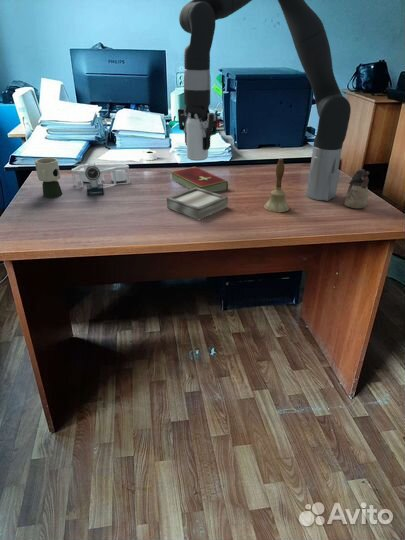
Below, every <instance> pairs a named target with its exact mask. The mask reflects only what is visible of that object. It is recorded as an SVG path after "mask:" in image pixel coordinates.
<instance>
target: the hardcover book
mask: <svg viewBox="0 0 405 540" xmlns="http://www.w3.org/2000/svg"><path fill="white" fill-rule="evenodd" d="M169 173H170V174H171V180H172V181H174V182H177V183H178V184H180V185H182V186H183V187H185V188H187V189H188V190H190V189H193V188H195V187H197V188H200V189H204V190H207V191H210V192H213V193H216V192H222V191H226V190H227V191H228V189H229V182H228V180H226V179H223V178H222V177H219V176H217V175H214V174H213V173H210V172H208V171H207V170H203V169H201V168H199V167H197V166H192V167H187V168H183V169H178V170H177V169H176V170H172V171H170V172H169Z"/></svg>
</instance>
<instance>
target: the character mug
mask: <svg viewBox="0 0 405 540" xmlns="http://www.w3.org/2000/svg"><path fill="white" fill-rule="evenodd" d="M34 164H35V170H36V173H37V179H38V181H40V182H42V195H43V197H44V198H46V199H56V198H59V197H61V196H62V194H63V191H62V187H61V185H60V183H59V181H58V180H60V179H61V173H60V172H61V171H60V167H59V161H58V159H57V158H56V157H42V158H38V159H35V160H34Z"/></svg>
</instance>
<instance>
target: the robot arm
mask: <svg viewBox="0 0 405 540" xmlns="http://www.w3.org/2000/svg"><path fill="white" fill-rule="evenodd" d="M252 1H253V0H191V1H189V2H187V3H185V4H184V5H183V7H182V8H181V9H180V12H179V15H178V21H179V26H180V27H181V29H182V30H183V31H184V32H185V33H187V34H189V35H190V38H189V39H190V42H189V44H188V45H187V46H185V48H184V53H183V55H184V56H183V57H184V60H183V61H184V62H183V63H184V72H183V73H184V74H183V104H184V106H185V107H184V108H179V109H177V117H178V126H179V127H178V128H179V130H180V131H183V133H184V143H185V146H186V147H187V128H186V123H187V120H188V117H189V118H198V119H199V118H201V119H199V122H200V129H202V134H203V150H207V149H208V150H209V149H210V148H211V137H212V136H214V135H216V134H217V130H218V129H217V128H218V127H217V126H218V119H219V117H218V115H219V114H218V113H216V112H215V113H213V112H211V111H210V109H209V107H210V105H211V84H212V83H211V79H212V78H211V57H210V56H211V48H212V45H213V40H214V35H215V31H216V21H217V20H222V19H225V18H228V17H229V16H231V15H233V14H234V13H236V12H237V11H239V10H240V9H242V8H244V7H245V6H246V5H248V4H249V3H251V2H252ZM277 2H278V4H279V6H280V9H281V11H282V14H283V16H284V20H285V22H286V24H287V28H288V30H289V33H290V35H291V38H292V42H293V46H294V48H295V50H296V54H297V56H298V59H299V62H300V65H301V66H302V68H303V71H304V73H305V75H306V77H307V79H308V81H309V84H310V86H311V89H312V93H313V97H314V102H315V106H316V111H317V115H318V123H317V130H316V135H315V137H314V140H313V145H312V146H313V147H312V153H311V161H310V167H309V173H308V174H309V175H308V180H307V187H306V194H305V195H306V196H307V197H308V198H310V199H312V200H315V201H316V200H317V201H326V202H329V201H331V200H332V199H335V197H336V196H337V195H336V194H337V190H338V186H339V185H338V184H339V180H340V179H339V178H340V173H341V170H340V169H339V166H340V162H341V161H340V160H341V155H342V150H343V146H344V142H345V139H346V137H347V133H348V128H349V124H350V118H351V112H352V111H351V110H352V109H351V108H352V107H351V104H350V101H349V100H348V99H347V98H346V97H345V96H343V94H342V92H341V90H340V87H339V84H338V82H337V80H336V77H335V74H334V70H333V69H334V68H333V59H332V53H331V46H330V41H329V39H328V38H329V37H328V34H327V32H326V29H325V27H324V23H323V22H322V20H321V18H320V17H319V16H318V14H317V13H316V12H315V11H314V10H313V9H312V8H311V7H310V6H309V5H308V3H307V2H306V1H305V0H277ZM201 121H202V122H204V121H207V123H208V124H207V125H204V126H203V125H202V122H201ZM205 128H207V132H206V130H205Z"/></svg>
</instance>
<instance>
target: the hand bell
mask: <svg viewBox="0 0 405 540" xmlns="http://www.w3.org/2000/svg"><path fill="white" fill-rule="evenodd" d="M284 173H285V163H284V159H283V158H279V159H278V161H277V164H276V167H275V176H276V184H275V189H273V190H271V192H270V196H269V199H268V201H267V202H266V203H265V204H264V205H263V207H264V210H266V211H268V212H270V213H271V212H272V213H285V212H288V211H289V210H290V205H289V204H288V203H287V200H286V192H285V191H284V190H282V182H283V181H282V179H283V176H284Z"/></svg>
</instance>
